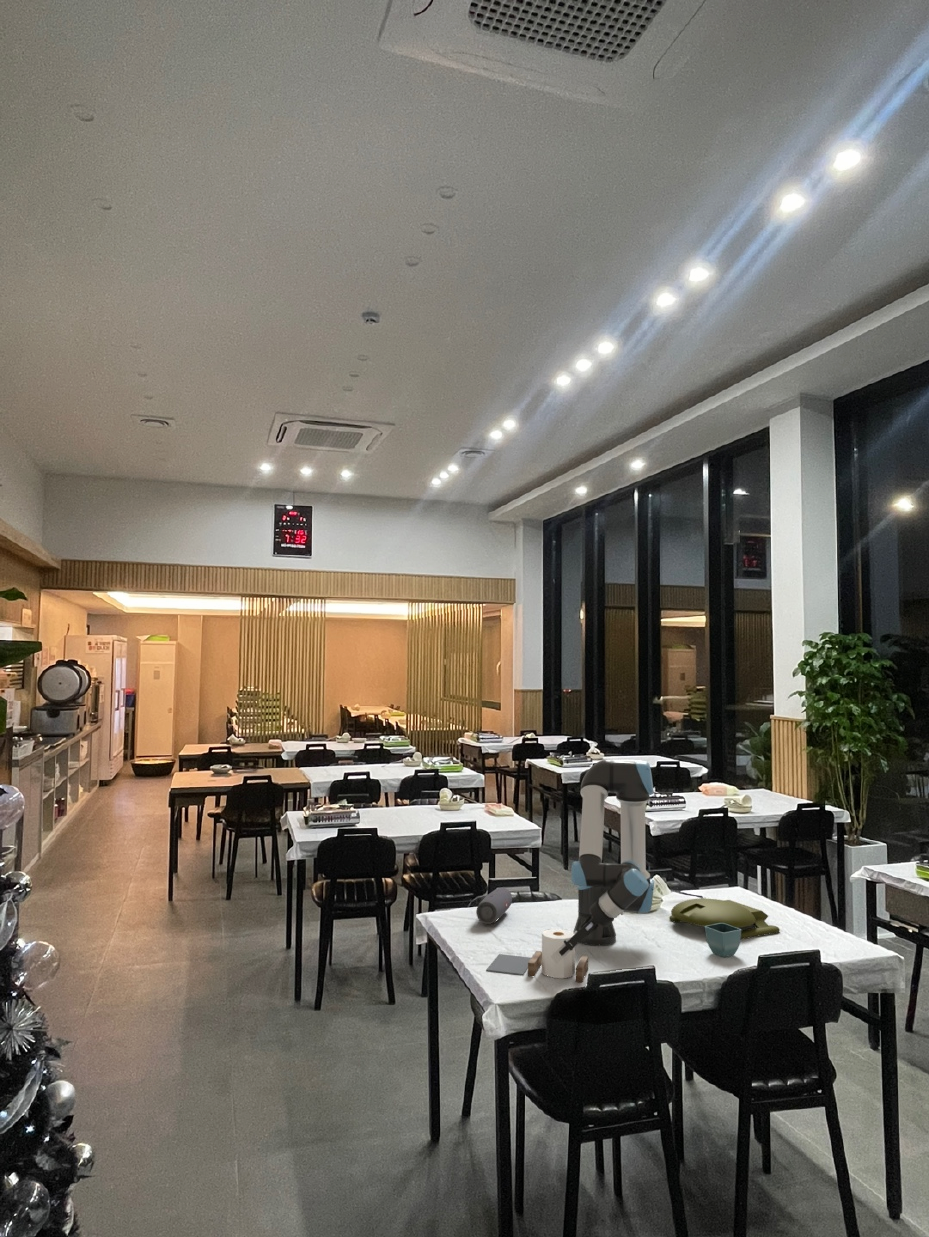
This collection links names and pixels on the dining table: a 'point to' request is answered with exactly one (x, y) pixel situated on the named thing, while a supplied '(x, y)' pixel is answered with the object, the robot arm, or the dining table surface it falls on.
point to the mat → (509, 964)
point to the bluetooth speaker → (494, 905)
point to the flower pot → (723, 939)
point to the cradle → (537, 962)
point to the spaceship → (723, 915)
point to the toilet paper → (549, 946)
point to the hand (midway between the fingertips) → (559, 953)
